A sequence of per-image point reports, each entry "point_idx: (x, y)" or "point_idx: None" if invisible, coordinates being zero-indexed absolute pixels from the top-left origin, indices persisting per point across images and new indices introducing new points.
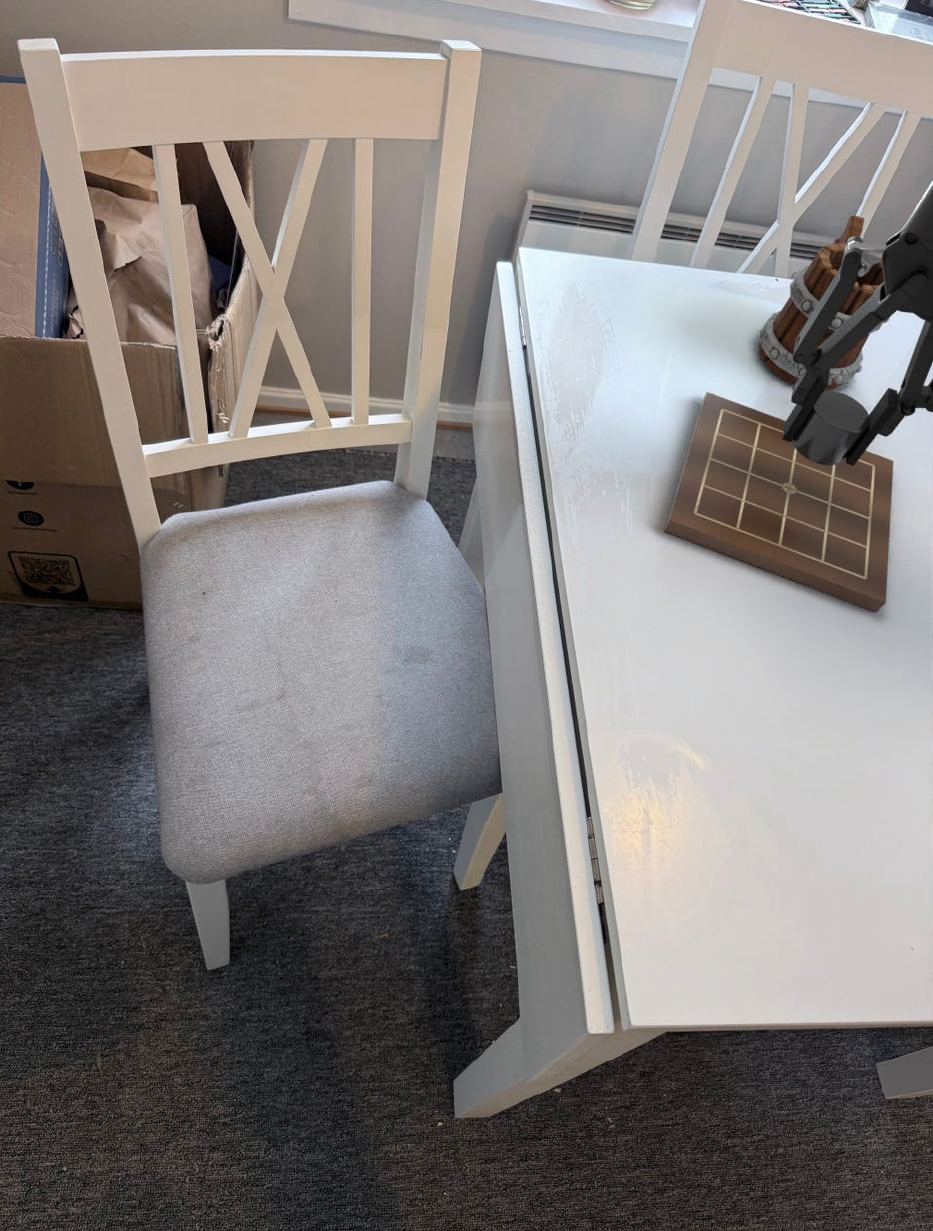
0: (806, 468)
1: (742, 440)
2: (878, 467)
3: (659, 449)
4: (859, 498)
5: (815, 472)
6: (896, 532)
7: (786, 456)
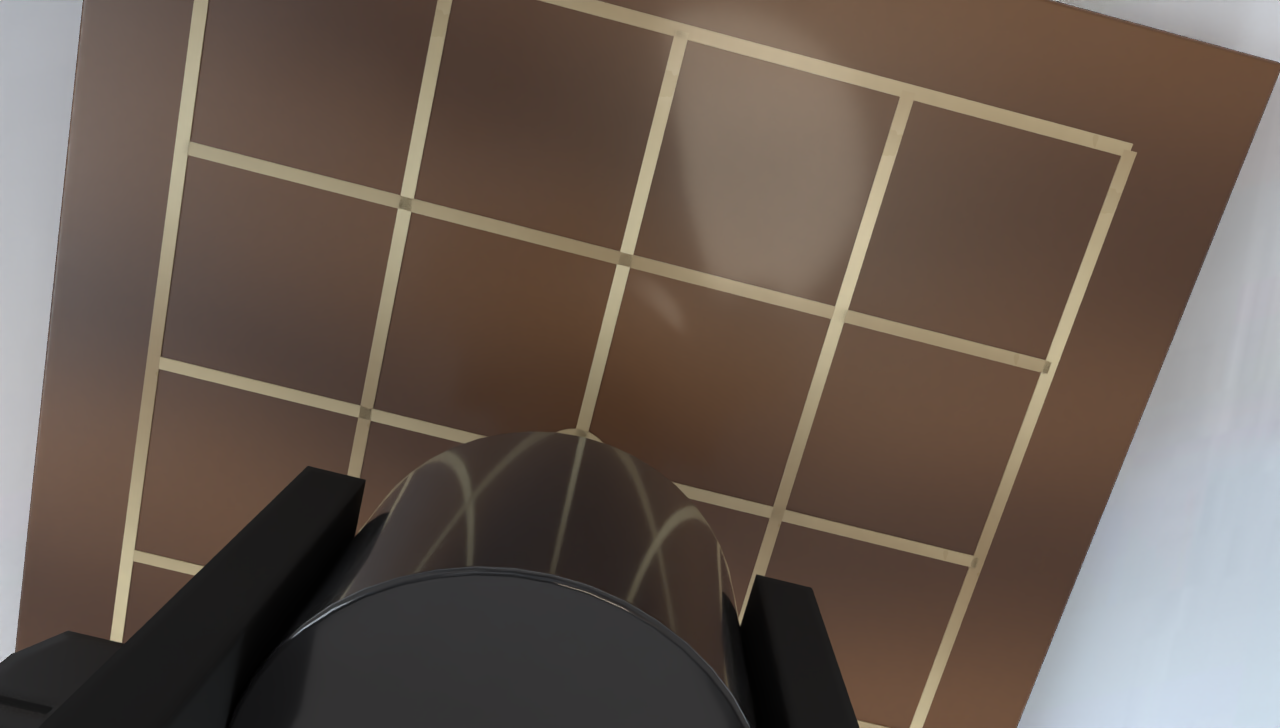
0: None
1: None
2: None
3: (1151, 605)
4: (198, 490)
5: None
6: (12, 369)
7: None
